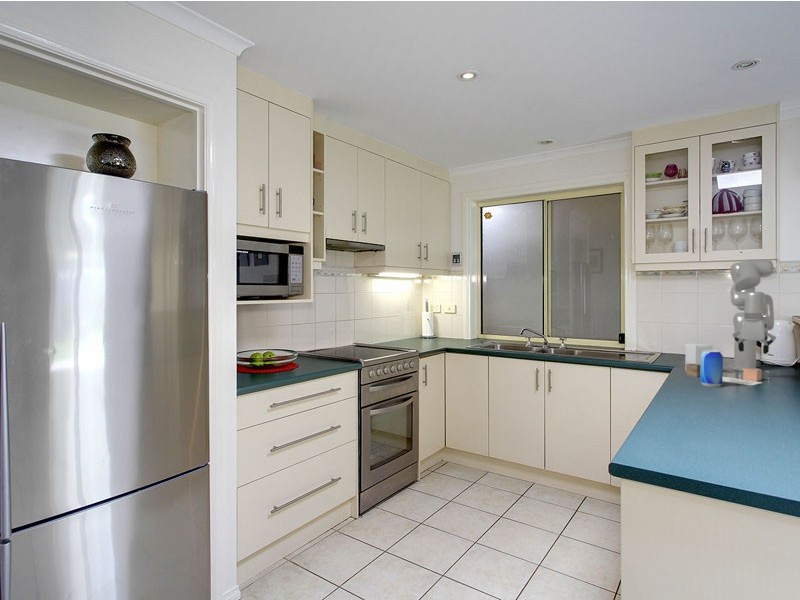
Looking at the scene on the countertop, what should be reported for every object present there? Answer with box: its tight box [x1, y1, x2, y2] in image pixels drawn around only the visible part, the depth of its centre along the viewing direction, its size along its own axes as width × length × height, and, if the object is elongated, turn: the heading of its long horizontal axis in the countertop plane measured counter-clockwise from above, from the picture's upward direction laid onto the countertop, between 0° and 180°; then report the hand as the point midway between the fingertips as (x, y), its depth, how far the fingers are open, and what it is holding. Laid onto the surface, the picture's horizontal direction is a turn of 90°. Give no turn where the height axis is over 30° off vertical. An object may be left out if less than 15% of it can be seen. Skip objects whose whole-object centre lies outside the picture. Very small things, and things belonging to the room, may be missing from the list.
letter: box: [722, 376, 763, 386], centre depth 218 cm, size 13×17×1 cm
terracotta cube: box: [742, 368, 763, 382], centre depth 220 cm, size 6×6×6 cm
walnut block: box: [685, 364, 700, 378], centre depth 230 cm, size 5×5×6 cm
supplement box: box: [684, 343, 713, 372], centre depth 240 cm, size 9×9×15 cm
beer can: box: [699, 349, 724, 388], centre depth 208 cm, size 8×8×16 cm
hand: (753, 352), depth 220 cm, fingers open, 9 cm apart
